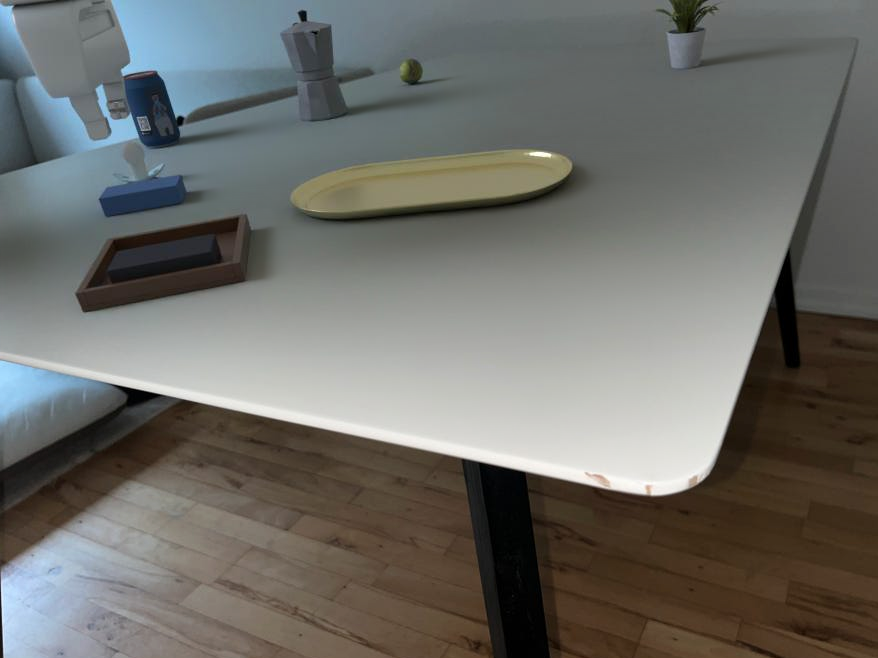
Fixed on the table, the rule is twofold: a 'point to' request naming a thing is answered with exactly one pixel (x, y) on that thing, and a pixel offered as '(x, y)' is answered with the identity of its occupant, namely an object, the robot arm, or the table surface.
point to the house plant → (686, 32)
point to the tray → (231, 269)
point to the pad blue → (142, 195)
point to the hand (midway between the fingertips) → (112, 127)
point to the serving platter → (432, 184)
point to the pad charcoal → (164, 258)
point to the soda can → (151, 109)
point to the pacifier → (136, 165)
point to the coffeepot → (314, 69)
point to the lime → (410, 71)
